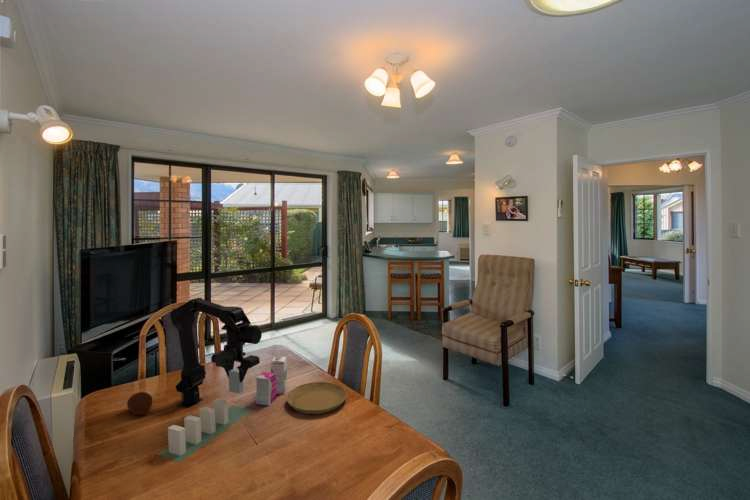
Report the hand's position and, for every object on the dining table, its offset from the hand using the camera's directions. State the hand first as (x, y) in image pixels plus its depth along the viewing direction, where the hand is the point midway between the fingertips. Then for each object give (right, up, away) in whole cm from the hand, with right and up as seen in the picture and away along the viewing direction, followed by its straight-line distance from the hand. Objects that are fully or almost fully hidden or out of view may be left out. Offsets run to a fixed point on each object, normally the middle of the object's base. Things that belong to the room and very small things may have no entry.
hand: (235, 380), depth 133 cm
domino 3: (-5, -13, -12) cm, 19 cm away
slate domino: (0, -4, 0) cm, 4 cm away
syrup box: (+12, -11, +18) cm, 24 cm away
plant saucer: (+30, -12, +9) cm, 33 cm away
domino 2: (-7, -13, -18) cm, 23 cm away
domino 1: (-9, -14, -23) cm, 29 cm away
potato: (-37, -13, +1) cm, 39 cm away
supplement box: (+9, -12, +8) cm, 17 cm away
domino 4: (-3, -13, -7) cm, 15 cm away
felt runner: (-5, -13, -11) cm, 18 cm away
